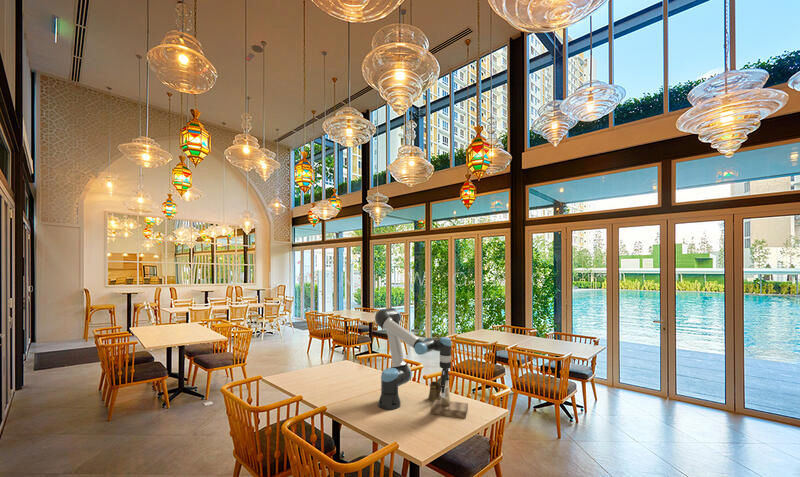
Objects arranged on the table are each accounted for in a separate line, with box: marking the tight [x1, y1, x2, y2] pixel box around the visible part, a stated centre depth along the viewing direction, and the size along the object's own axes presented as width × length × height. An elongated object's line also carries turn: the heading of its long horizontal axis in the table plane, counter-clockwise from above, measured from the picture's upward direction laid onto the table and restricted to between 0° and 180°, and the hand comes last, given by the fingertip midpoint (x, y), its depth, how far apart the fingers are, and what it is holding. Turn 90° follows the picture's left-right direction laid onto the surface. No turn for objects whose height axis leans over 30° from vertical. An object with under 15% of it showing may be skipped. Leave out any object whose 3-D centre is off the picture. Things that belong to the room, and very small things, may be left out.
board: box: [430, 400, 469, 419], centre depth 233 cm, size 22×14×4 cm, turn 74°
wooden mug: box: [427, 377, 441, 402], centre depth 254 cm, size 9×14×18 cm, turn 34°
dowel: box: [441, 385, 451, 407], centre depth 234 cm, size 6×6×15 cm
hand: (444, 394), depth 234 cm, fingers open, 13 cm apart
